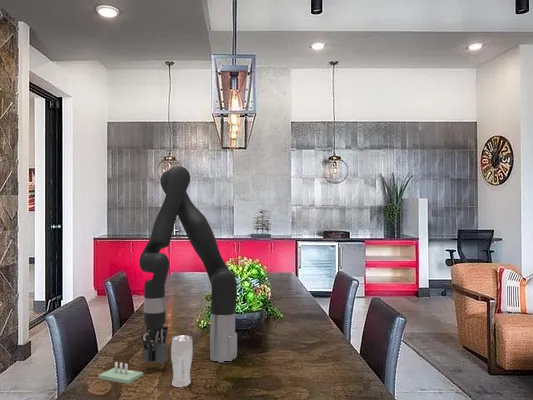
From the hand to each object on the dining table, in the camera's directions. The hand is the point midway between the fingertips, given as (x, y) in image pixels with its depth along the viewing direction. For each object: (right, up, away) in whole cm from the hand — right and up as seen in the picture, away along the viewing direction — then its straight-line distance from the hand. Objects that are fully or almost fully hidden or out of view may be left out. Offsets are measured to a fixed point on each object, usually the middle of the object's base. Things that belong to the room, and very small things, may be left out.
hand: (155, 359), depth 172 cm
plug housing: (0, 0, 0) cm, 0 cm away
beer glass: (+11, -4, -14) cm, 18 cm away
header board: (-10, -4, -8) cm, 13 cm away
